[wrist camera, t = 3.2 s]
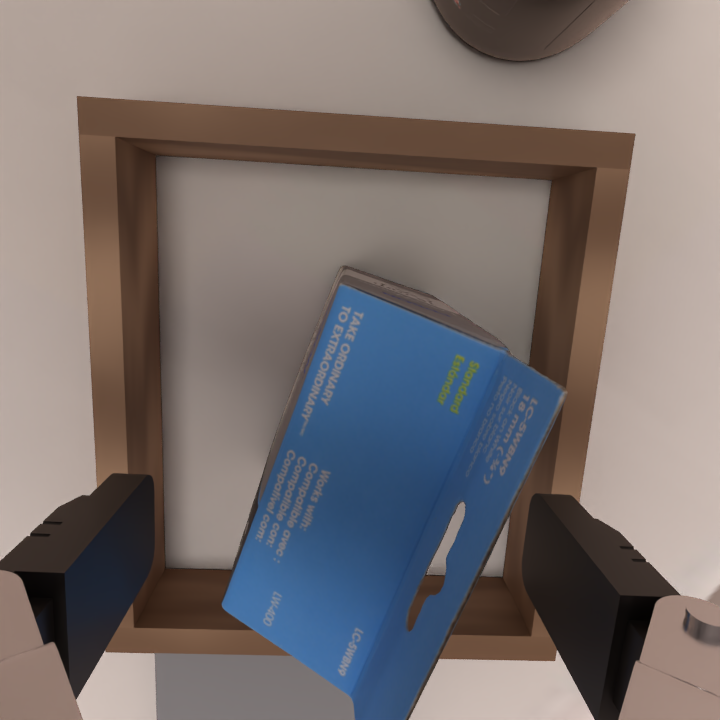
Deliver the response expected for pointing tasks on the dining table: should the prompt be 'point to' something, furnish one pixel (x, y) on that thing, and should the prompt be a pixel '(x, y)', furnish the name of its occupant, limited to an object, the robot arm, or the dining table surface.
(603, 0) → the supplement bottle
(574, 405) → the bin
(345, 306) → the blue product box
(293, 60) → the dining table surface
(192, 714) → the grey rectangular slab
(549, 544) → the robot arm
